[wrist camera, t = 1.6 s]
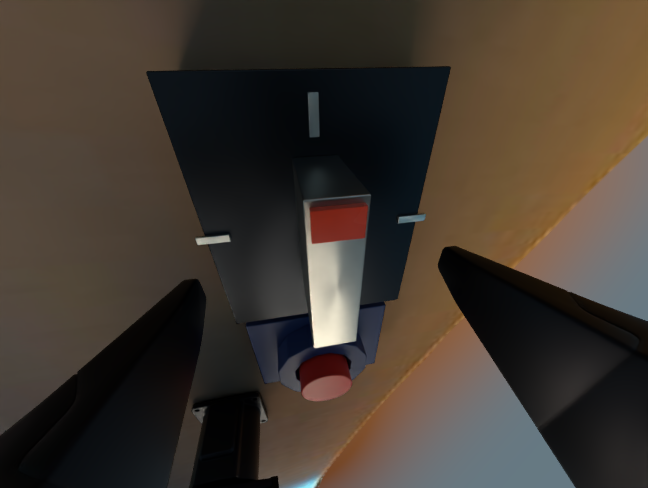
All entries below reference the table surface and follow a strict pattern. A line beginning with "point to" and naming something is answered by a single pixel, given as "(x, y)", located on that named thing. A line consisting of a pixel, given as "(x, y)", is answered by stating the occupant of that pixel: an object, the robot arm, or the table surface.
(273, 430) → the table surface
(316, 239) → the grey post red patch
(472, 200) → the table surface
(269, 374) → the button box
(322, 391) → the red button
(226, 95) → the dial panel
